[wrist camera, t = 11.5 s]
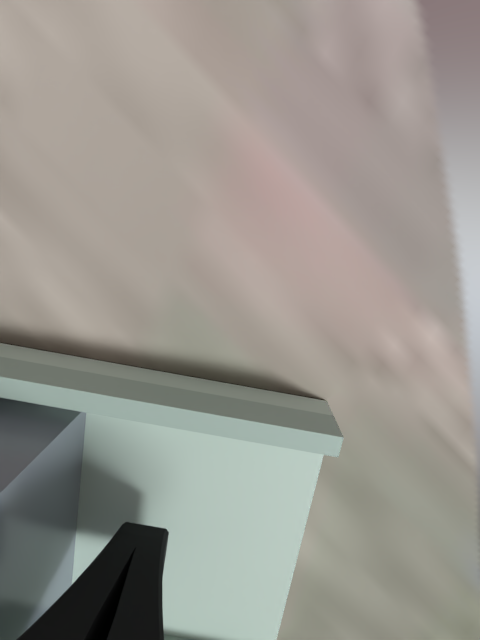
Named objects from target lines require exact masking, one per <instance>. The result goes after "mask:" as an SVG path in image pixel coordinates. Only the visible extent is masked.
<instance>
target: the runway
mask: <svg viewBox="0 0 480 640" xmlns="http://www.w3.org/2000/svg"><path fill="white" fill-rule="evenodd" d="M0 397H1V398H6V399H12V400H18V401H23V402H29V403H34V404H40V405H46V406H51V407H57V408H63V409H68V410H74V411H80V412H85V413H86V424H85V435H84V447H83V459H82V471H81V483H80V494H79V506H78V518H77V530H76V542H75V553H74V565H73V577H72V584H73V583H74V582H75V581H76V580H77V578H78V577H79V576H80V575H81V574H82V573H83V572H84V571H85V569H86V568H87V567H88V566H89V565H90V564H91V563H92V562H93V560H94V559H95V558H96V557H97V556H98V555H99V553H100V552H101V551H102V550H103V549H104V547H105V546H106V545H107V544H108V542H109V541H110V540H111V539H112V537H113V536H114V535H115V533H116V532H117V531H118V529H119V528H120V527H121V525H122V524H124V523H125V522H130V523H136V524H142V525H148V526H154V527H160V528H165V529H167V531H168V532H169V536H168V543H167V550H166V557H165V564H164V570H163V580H162V607H163V629H164V640H276V639H277V635H278V632H279V628H280V624H281V620H282V616H283V612H284V608H285V604H286V600H287V596H288V592H289V588H290V585H291V581H292V577H293V573H294V569H295V565H296V561H297V557H298V553H299V549H300V545H301V541H302V538H303V534H304V530H305V526H306V522H307V518H308V514H309V510H310V506H311V502H312V498H313V494H314V490H315V487H316V483H317V479H318V475H319V471H320V467H321V463H322V459H323V455H328V456H334V457H339V453H340V449H341V445H342V442H343V438H344V437H343V435H342V433H341V431H340V429H339V426H338V424H337V422H336V420H335V418H334V416H333V413H332V411H331V409H330V407H329V405H328V402H327V401H324V400H319V399H313V398H307V397H302V396H296V395H291V394H285V393H279V392H274V391H268V390H262V389H257V388H251V387H246V386H240V385H234V384H229V383H223V382H217V381H212V380H206V379H200V378H195V377H189V376H184V375H178V374H172V373H167V372H161V371H155V370H150V369H144V368H139V367H133V366H127V365H122V364H116V363H110V362H105V361H99V360H93V359H88V358H82V357H77V356H71V355H65V354H60V353H54V352H48V351H43V350H37V349H32V348H26V347H20V346H15V345H9V344H3V343H0Z"/></svg>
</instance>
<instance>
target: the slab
mask: <svg viewBox="0 0 480 640" xmlns="http://www.w3.org/2000/svg"><path fill="white" fill-rule="evenodd" d="M85 424H86V413H85V412H80V411H74V410H68V409H63V408H57V407H51V406H46V405H40V404H34V403H29V402H23V401H18V400H12V399H6V398H1V397H0V640H16V639H18V638H19V637H20V636H21V635H22V634H23V633H24V632H25V631H26V630H27V629H28V628H29V627H30V626H31V625H33V624H34V623H35V622H36V621H37V620H38V619H39V618H40V617H41V616H42V615H43V614H44V613H45V612H46V611H47V610H48V609H49V608H50V607H51V606H52V605H53V604H54V603H55V602H56V601H57V600H58V599H59V598H60V597H61V595H62V594H63V593H64V592H65V591H66V590H67V589H68V588H69V587H70V586H71V585H72V577H73V565H74V553H75V542H76V530H77V518H78V506H79V494H80V483H81V471H82V459H83V447H84V435H85Z"/></svg>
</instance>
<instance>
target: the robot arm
mask: <svg viewBox="0 0 480 640" xmlns="http://www.w3.org/2000/svg"><path fill="white" fill-rule="evenodd" d="M168 536H169V532H168V531H167V529H165V528H160V527H154V526H148V525H142V524H136V523H130V522H125V523H124V524H122V525H121V527H120V528H119V529H118V531H117V532H116V533H115V535H114V536H113V537H112V539H111V540H110V541H109V542H108V544H107V545H106V546H105V547H104V549H103V550H102V551H101V552H100V553H99V555H98V556H97V557H96V558H95V559H94V560H93V562H92V563H91V564H90V565H89V566H88V567H87V568H86V569H85V571H84V572H83V573H82V574H81V575H80V576H79V577H78V578H77V580H76V581H75V582H74V583H73V584H72V585H71V586H70V587H69V588H68V589H67V590H66V591H65V592H64V593H63V594H62V595H61V597H60V598H59V599H58V600H57V601H56V602H55V603H54V604H53V605H52V606H51V607H50V608H49V609H48V610H47V611H46V612H45V613H44V614H43V615H42V616H41V617H40V618H39V619H38V620H37V621H36V622H35V623H34V624H33V625H31V626H30V627H29V628H28V629H27V630H26V631H25V632H24V633H23V634H22V635H21V636H20V637H19V638H18V639H16V640H164V629H163V607H162V580H163V570H164V564H165V557H166V550H167V543H168Z"/></svg>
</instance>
